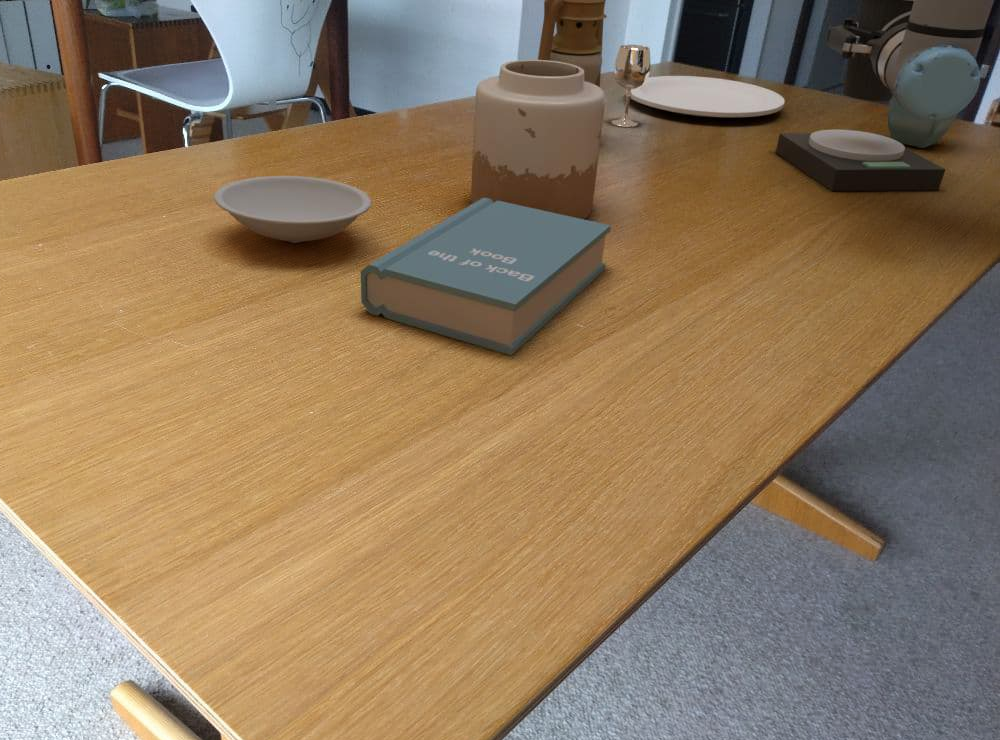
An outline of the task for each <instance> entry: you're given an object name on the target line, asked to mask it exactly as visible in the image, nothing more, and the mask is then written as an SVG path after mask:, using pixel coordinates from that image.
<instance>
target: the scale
mask: <svg viewBox="0 0 1000 740" xmlns="http://www.w3.org/2000/svg"><path fill="white" fill-rule="evenodd" d="M775 154H776V155H778V156H779V157H781V158H782V159H784V160H785V161H787V162H788V163H790V164H791V165H792V166H794V167H795V168H796V169H798V170H800V171H801V172H803V173H804V174H806V175H807V176H808V177H810V178H811V179H813V180H814V181H816V182H818V183H819V184H820V185H822V186H823V187H824V188H826V189H828V190H829V191H830V192H876V191H877V192H887V191H888V192H891V191H892V192H893V191H895V192H896V191H899V192H900V191H902V192H904V191H906V192H907V191H910V192H911V191H939V190H940V187H941V184H942V181H943V179H944V175H945V173H946V168H944V167H942V166H940V165H939V164H936V163H935V162H933V161H930V160H928V159H927V158H925V157H923V156H922V155H919V154H918V153H915V152H914V151H912V150H910V149H907V148H906V147H905V144H901V143H900V142H898V141H896V140H894V139H892V138H891V137H888V136H884V135H881V134H879V133H875V132H874V133H873V132H867V131H860V130H853V129H821V130H817V131H814V132H812V133H811V132H810V133H808V132H806V133H804V132H803V133H795V132H793V133H792V132H790V133H789V132H788V133H786V132H785V133H781V132H780V133H779V136H778V140H777V144H776V149H775Z"/></svg>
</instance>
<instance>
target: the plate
mask: <svg viewBox="0 0 1000 740" xmlns="http://www.w3.org/2000/svg"><path fill="white" fill-rule="evenodd" d="M627 90H628V89H626V88H625V93H626V92H627ZM631 92H632V96H631V99H630V100H633V101H635V102H637V103H639V104H642V105H644V106H648V107H651V108H655V109H659V110H662V111H666V112H668V113H669V112H670V113H674V114H680V115H683V116H691V117H696V118H712V119H732V118H733V119H734V118H752V117H760V116H761V117H762V116H767V115H771V114H776V113H778V112H780V111H782V110H783V108H784V106H785V103H786V101H785V99H784V97H783V96H782V95H781V94H779V93H777V92H776V91H773V90H771V89H769V88H765V87H762V86H759V85H755V84H751V83H747V82H743V81H737V80H731V79H725V78H719V77H718V78H717V77H707V76H695V75H693V76H692V75H658V76H649V77H648V79H647V81H646V82H645V83H644V84H643V85H642V86H640V87H638V88H635V89H631Z"/></svg>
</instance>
